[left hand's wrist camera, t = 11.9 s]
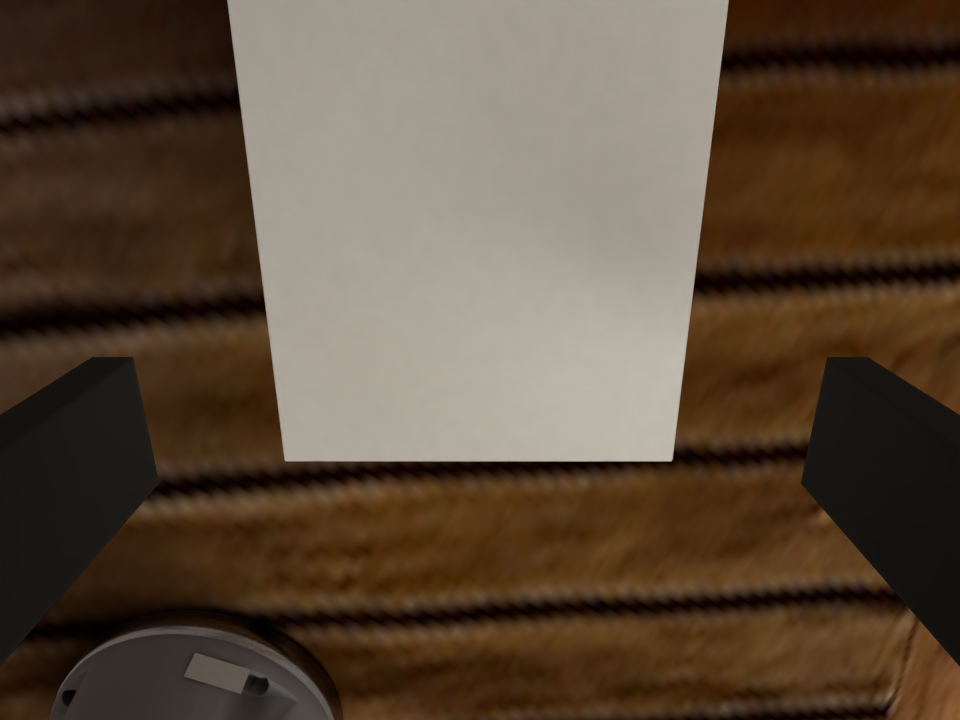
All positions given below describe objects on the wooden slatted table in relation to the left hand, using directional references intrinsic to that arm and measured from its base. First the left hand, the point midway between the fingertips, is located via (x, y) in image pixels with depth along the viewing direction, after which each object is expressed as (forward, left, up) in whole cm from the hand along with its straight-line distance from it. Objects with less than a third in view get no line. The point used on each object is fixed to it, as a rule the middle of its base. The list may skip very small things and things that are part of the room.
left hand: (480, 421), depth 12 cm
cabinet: (+1, +6, -16) cm, 17 cm away
